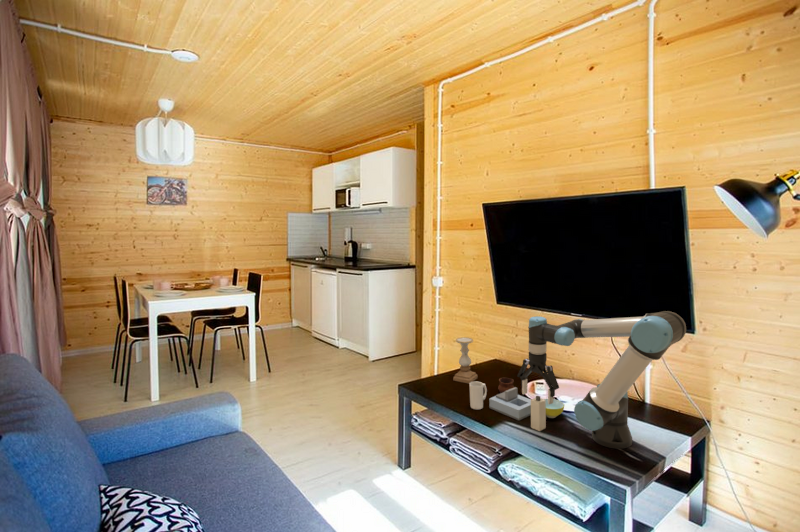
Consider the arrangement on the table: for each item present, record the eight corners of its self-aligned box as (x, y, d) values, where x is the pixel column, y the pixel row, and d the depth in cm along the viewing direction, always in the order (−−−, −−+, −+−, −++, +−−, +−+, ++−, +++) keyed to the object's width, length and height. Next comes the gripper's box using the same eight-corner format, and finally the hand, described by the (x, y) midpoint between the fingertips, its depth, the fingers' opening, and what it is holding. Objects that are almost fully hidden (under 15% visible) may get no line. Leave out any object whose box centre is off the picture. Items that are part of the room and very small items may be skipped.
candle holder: (452, 380, 257) (451, 340, 254) (461, 374, 266) (460, 336, 263) (469, 383, 250) (468, 343, 248) (478, 377, 259) (477, 338, 257)
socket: (537, 411, 212) (537, 401, 211) (518, 420, 203) (518, 410, 203) (508, 400, 226) (507, 390, 226) (489, 408, 218) (489, 398, 217)
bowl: (558, 424, 199) (558, 411, 198) (534, 417, 206) (534, 404, 206) (568, 415, 207) (568, 402, 206) (544, 408, 215) (544, 396, 214)
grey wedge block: (517, 397, 217) (517, 387, 216) (507, 401, 212) (507, 392, 212) (505, 392, 223) (505, 383, 222) (495, 396, 218) (495, 387, 218)
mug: (475, 411, 215) (475, 387, 214) (467, 406, 221) (466, 383, 220) (491, 405, 220) (490, 382, 219) (482, 401, 226) (482, 378, 225)
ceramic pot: (522, 386, 244) (522, 374, 243) (524, 399, 227) (524, 386, 226) (489, 385, 248) (489, 373, 247) (489, 399, 230) (488, 386, 230)
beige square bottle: (545, 428, 195) (545, 396, 194) (539, 431, 193) (539, 399, 191) (537, 424, 199) (536, 393, 197) (530, 427, 196) (530, 396, 195)
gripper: (568, 357, 184) (567, 405, 187) (519, 344, 204) (520, 387, 207) (557, 361, 180) (557, 410, 183) (509, 347, 200) (509, 391, 203)
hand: (537, 398), depth 195 cm, fingers open, 13 cm apart
